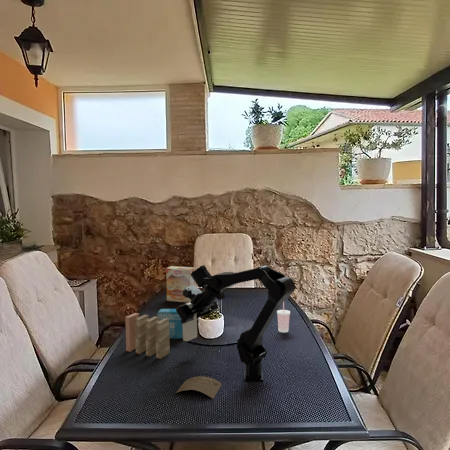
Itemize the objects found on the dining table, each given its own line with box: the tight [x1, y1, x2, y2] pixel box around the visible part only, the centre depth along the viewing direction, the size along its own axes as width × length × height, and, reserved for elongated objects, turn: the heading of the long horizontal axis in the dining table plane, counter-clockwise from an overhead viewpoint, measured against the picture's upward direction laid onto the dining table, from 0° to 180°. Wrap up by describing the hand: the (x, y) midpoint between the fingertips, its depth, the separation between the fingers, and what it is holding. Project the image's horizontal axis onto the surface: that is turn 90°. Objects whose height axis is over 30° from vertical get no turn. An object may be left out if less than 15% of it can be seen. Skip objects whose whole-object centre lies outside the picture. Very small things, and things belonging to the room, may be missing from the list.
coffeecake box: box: [165, 265, 195, 304], centre depth 229 cm, size 15×7×20 cm, turn 73°
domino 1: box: [135, 314, 150, 355], centre depth 157 cm, size 2×6×14 cm, turn 153°
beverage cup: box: [276, 301, 291, 333], centre depth 179 cm, size 6×6×14 cm
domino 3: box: [155, 318, 171, 360], centre depth 153 cm, size 2×6×14 cm, turn 153°
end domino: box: [124, 312, 140, 353], centre depth 160 cm, size 2×6×14 cm, turn 152°
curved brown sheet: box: [174, 375, 223, 400], centre depth 127 cm, size 14×10×3 cm
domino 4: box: [182, 302, 198, 342], centre depth 153 cm, size 2×6×14 cm, turn 142°
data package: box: [156, 308, 183, 340], centre depth 172 cm, size 12×4×12 cm, turn 89°
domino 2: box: [145, 315, 159, 357], centre depth 155 cm, size 2×6×14 cm, turn 152°
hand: (187, 320), depth 154 cm, fingers closed on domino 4, 6 cm apart
